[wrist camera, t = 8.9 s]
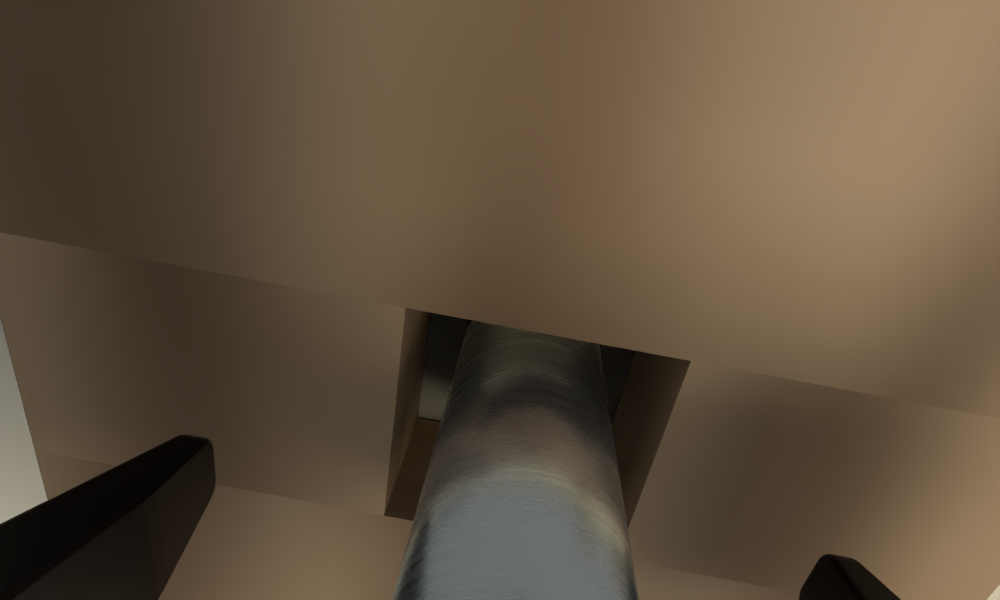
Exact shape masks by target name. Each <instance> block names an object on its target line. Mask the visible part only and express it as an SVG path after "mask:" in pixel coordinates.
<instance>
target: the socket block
mask: <svg viewBox="0 0 1000 600" xmlns="http://www.w3.org/2000/svg"><path fill="white" fill-rule="evenodd" d="M431 313H436V314H441V315H447V316H452V317H457V318H463V319H468V320H473V321H479V322H484V323H489V324H495V325H500V326H506V327H511V328H516V329H522V330H527V331H532V332H538V333H543V334H549V335H554V336H559V337H565V338H570V339H575V340H581V341H586V342H592V343H597V344H602V345H608V346H613V347H618V348H624V349H629V350H635V351H636V352H635V355H634V358H633V361H632V365H631V368H630V371H629V374H628V377H627V380H626V383H625V386H624V390H623V393H622V396H621V399H620V402H619V405H618V408H617V411H616V415H615V418H614V421H613V424H612V431H613V437H614V443H615V450H616V456H617V463H618V469H619V475H620V482H621V488H622V495H623V501H624V507H625V514H626V520H627V526H628V533H629V539H630V546H631V552H632V558H633V565H634V571H635V577H636V584H637V590H638V597H639V600H799V594H800V590H801V588H802V586H803V584H804V583H805V581H806V579H807V578H808V576H809V574H810V573H811V571H812V569H813V568H814V566H815V564H816V563H817V561H818V559H819V558H820V557H821V556H823V555H825V554H834V555H839V556H845V557H850V558H853V559H855V560H857V561H858V562H860V563H861V564H862V565H863V566H864V567H865V568H866V569H868V570H869V571H870V572H871V573H872V574H873V575H874V576H875V577H876V578H878V579H879V580H880V581H881V582H882V583H883V584H884V585H885V586H887V587H888V588H889V589H890V590H891V591H892V592H893V593H894V594H895V595H897V596H898V597H899V598H900V599H901V600H987V598H988V597H989V596H990V595H991V594H992V593H993V591H994V590H995V589H996V588H997V587H998V585H999V584H1000V0H0V318H1V322H2V325H3V329H4V333H5V337H6V341H7V345H8V349H9V352H10V356H11V360H12V364H13V368H14V372H15V376H16V379H17V383H18V387H19V391H20V395H21V399H22V403H23V406H24V410H25V414H26V418H27V422H28V426H29V430H30V433H31V437H32V441H33V445H34V449H35V453H36V457H37V460H38V464H39V468H40V472H41V476H42V480H43V484H44V487H45V491H46V495H47V499H48V500H50V499H52V498H54V497H56V496H58V495H60V494H62V493H64V492H66V491H68V490H70V489H72V488H74V487H76V486H78V485H80V484H82V483H84V482H86V481H88V480H90V479H92V478H94V477H96V476H98V475H100V474H102V473H104V472H106V471H108V470H110V469H112V468H114V467H116V466H118V465H120V464H122V463H124V462H126V461H128V460H130V459H132V458H134V457H136V456H138V455H140V454H142V453H144V452H146V451H148V450H150V449H152V448H154V447H156V446H158V445H160V444H162V443H164V442H166V441H168V440H170V439H172V438H174V437H176V436H179V435H183V434H187V435H193V436H198V437H204V438H207V439H209V440H211V442H212V444H213V448H214V460H215V473H216V485H215V490H214V493H213V495H212V498H211V500H210V502H209V504H208V506H207V508H206V509H205V511H204V513H203V515H202V517H201V519H200V521H199V523H198V525H197V527H196V529H195V531H194V533H193V535H192V537H191V539H190V541H189V543H188V544H187V546H186V548H185V550H184V552H183V554H182V556H181V558H180V560H179V562H178V564H177V566H176V568H175V570H174V572H173V574H172V576H171V577H170V579H169V581H168V583H167V585H166V587H165V589H164V591H163V592H162V594H161V596H160V598H159V600H391V599H392V596H393V592H394V589H395V585H396V581H397V578H398V574H399V571H400V567H401V564H402V560H403V556H404V553H405V549H406V546H407V542H408V538H409V535H410V531H411V528H412V524H413V520H414V517H415V513H416V510H417V506H418V502H419V499H420V495H421V492H422V488H423V484H424V481H425V477H426V474H427V470H428V467H429V463H430V459H431V456H432V452H433V449H434V445H435V441H436V438H437V434H438V431H439V427H440V423H441V422H437V421H432V420H426V419H421V418H418V410H419V402H420V394H421V386H422V379H423V371H424V363H425V355H426V347H427V339H428V331H429V323H430V315H431Z"/></svg>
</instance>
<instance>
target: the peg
mask: <svg viewBox="0 0 1000 600" xmlns="http://www.w3.org/2000/svg"><path fill="white" fill-rule="evenodd" d="M391 600H639V597H638V590H637V584H636V577H635V571H634V565H633V558H632V552H631V546H630V539H629V533H628V526H627V520H626V514H625V507H624V501H623V495H622V488H621V482H620V475H619V469H618V463H617V456H616V450H615V443H614V437H613V431H612V424H611V418H610V412H609V405H608V399H607V392H606V386H605V380H604V373H603V367H602V361H601V354H600V348H599V344H597V343H592V342H586V341H581V340H575V339H570V338H565V337H559V336H554V335H549V334H543V333H538V332H532V331H527V330H522V329H516V328H511V327H506V326H500V325H495V324H489V323H484V322H479V321H473V320H472V321H471V323H470V325H469V326H468V329H467V331H466V334H465V337H464V341H463V344H462V348H461V352H460V355H459V359H458V362H457V366H456V370H455V373H454V377H453V380H452V384H451V387H450V391H449V395H448V398H447V402H446V405H445V409H444V413H443V416H442V420H441V423H440V427H439V431H438V434H437V438H436V441H435V445H434V449H433V452H432V456H431V459H430V463H429V467H428V470H427V474H426V477H425V481H424V484H423V488H422V492H421V495H420V499H419V502H418V506H417V510H416V513H415V517H414V520H413V524H412V528H411V531H410V535H409V538H408V542H407V546H406V549H405V553H404V556H403V560H402V564H401V567H400V571H399V574H398V578H397V581H396V585H395V589H394V592H393V596H392V599H391Z"/></svg>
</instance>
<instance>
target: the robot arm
mask: <svg viewBox="0 0 1000 600" xmlns="http://www.w3.org/2000/svg"><path fill="white" fill-rule="evenodd" d="M215 485H216V473H215V460H214V448H213V444H212V442H211V440H209V439H207V438H204V437H198V436H193V435H187V434H183V435H179V436H176V437H174V438H172V439H170V440H168V441H166V442H164V443H162V444H160V445H158V446H156V447H154V448H152V449H150V450H148V451H146V452H144V453H142V454H140V455H138V456H136V457H134V458H132V459H130V460H128V461H126V462H124V463H122V464H120V465H118V466H116V467H114V468H112V469H110V470H108V471H106V472H104V473H102V474H100V475H98V476H96V477H94V478H92V479H90V480H88V481H86V482H84V483H82V484H80V485H78V486H76V487H74V488H72V489H70V490H68V491H66V492H64V493H62V494H60V495H58V496H56V497H54V498H52V499H50V500H48V501H46V502H44V503H41V504H39V505H37V506H35V507H33V508H31V509H29V510H27V511H25V512H23V513H21V514H19V515H17V516H15V517H13V518H11V519H9V520H7V521H5V522H3V523H1V524H0V600H159V598H160V596H161V594H162V592H163V591H164V589H165V587H166V585H167V583H168V581H169V579H170V577H171V576H172V574H173V572H174V570H175V568H176V566H177V564H178V562H179V560H180V558H181V556H182V554H183V552H184V550H185V548H186V546H187V544H188V543H189V541H190V539H191V537H192V535H193V533H194V531H195V529H196V527H197V525H198V523H199V521H200V519H201V517H202V515H203V513H204V511H205V509H206V508H207V506H208V504H209V502H210V500H211V498H212V495H213V493H214V490H215ZM799 600H901V599H900V598H899V597H898V596H897V595H895V594H894V593H893V592H892V591H891V590H890V589H889V588H888V587H887V586H885V585H884V584H883V583H882V582H881V581H880V580H879V579H878V578H876V577H875V576H874V575H873V574H872V573H871V572H870V571H869V570H868V569H866V568H865V567H864V566H863V565H862V564H861V563H860V562H858V561H857V560H855V559H853V558H850V557H845V556H839V555H834V554H825V555H823V556H821V557H820V558H819V559H818V561H817V563H816V564H815V566H814V568H813V569H812V571H811V573H810V574H809V576H808V578H807V579H806V581H805V583H804V584H803V586H802V588H801V590H800V594H799Z"/></svg>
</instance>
